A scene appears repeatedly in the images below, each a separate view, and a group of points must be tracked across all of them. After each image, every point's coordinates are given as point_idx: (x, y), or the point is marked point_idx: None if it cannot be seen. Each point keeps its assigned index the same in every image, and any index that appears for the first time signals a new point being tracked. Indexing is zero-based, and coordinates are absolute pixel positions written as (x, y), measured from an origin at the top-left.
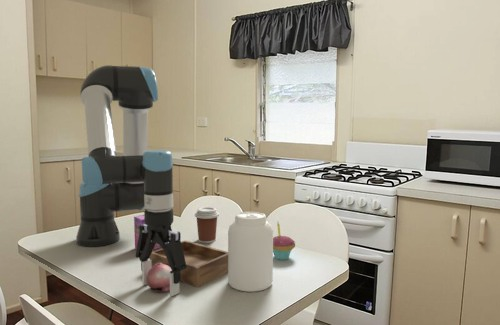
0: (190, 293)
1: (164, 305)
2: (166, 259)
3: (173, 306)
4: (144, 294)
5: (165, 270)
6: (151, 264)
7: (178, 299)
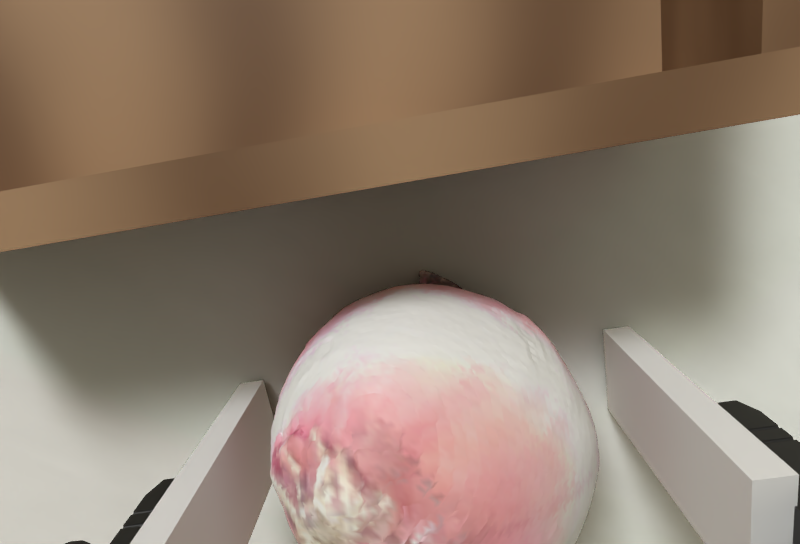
0: (700, 252)
1: None
2: (95, 234)
3: None
4: None
5: (559, 529)
6: (189, 502)
7: (702, 385)
